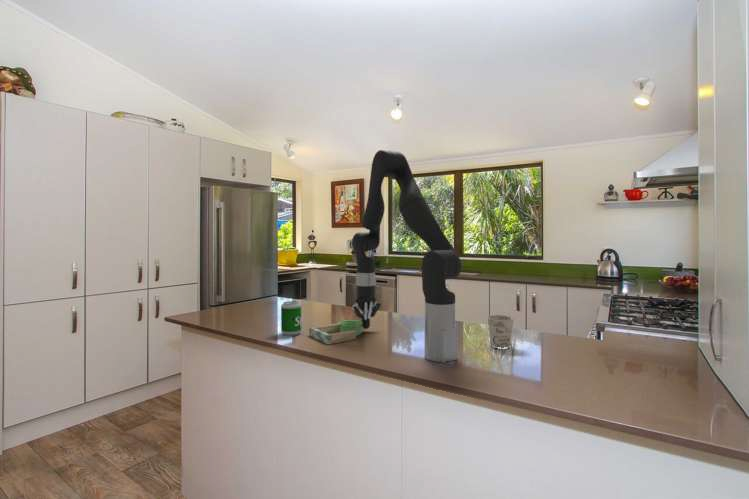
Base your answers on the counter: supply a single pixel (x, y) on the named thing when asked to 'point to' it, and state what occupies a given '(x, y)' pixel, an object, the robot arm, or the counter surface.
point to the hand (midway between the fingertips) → (365, 328)
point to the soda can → (291, 318)
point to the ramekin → (351, 326)
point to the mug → (500, 330)
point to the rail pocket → (325, 334)
